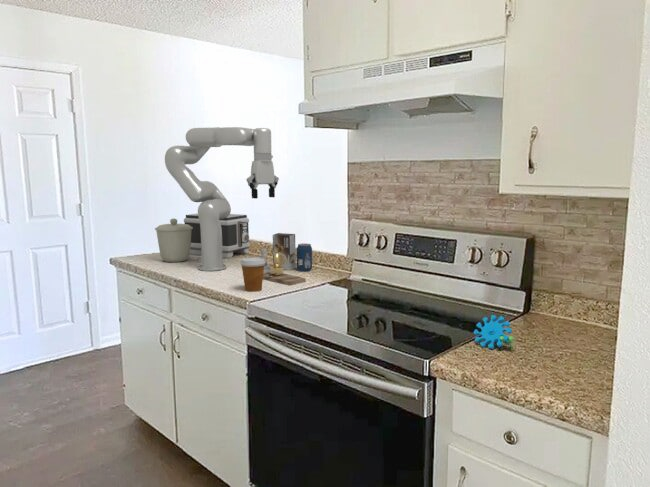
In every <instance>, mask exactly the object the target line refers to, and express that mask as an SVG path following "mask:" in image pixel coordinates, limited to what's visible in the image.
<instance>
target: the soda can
mask: <svg viewBox="0 0 650 487" xmlns="http://www.w3.org/2000/svg"><path fill="white" fill-rule="evenodd" d="M296 269H297V271H298V272H300V273H301V272H303V273H307V272H310V271H312V269H313V247H312V244H311V243H298V244H297V247H296Z"/></svg>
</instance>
